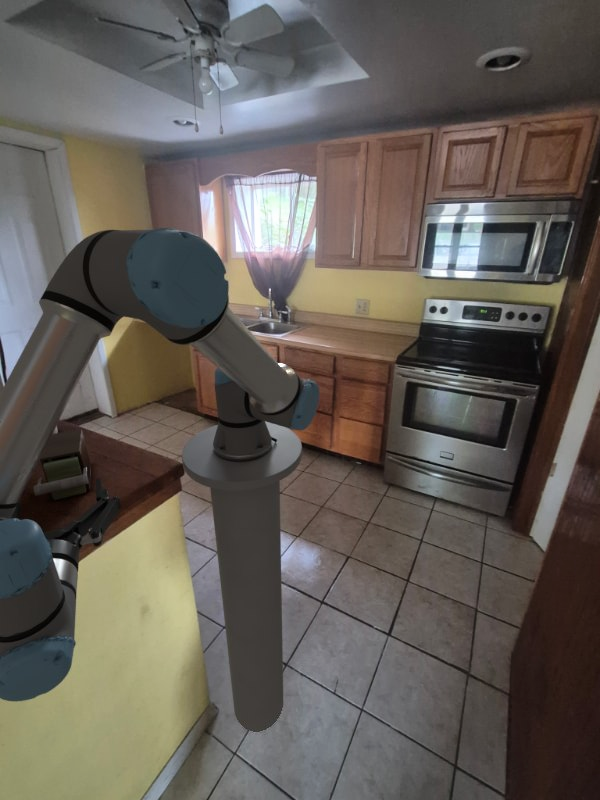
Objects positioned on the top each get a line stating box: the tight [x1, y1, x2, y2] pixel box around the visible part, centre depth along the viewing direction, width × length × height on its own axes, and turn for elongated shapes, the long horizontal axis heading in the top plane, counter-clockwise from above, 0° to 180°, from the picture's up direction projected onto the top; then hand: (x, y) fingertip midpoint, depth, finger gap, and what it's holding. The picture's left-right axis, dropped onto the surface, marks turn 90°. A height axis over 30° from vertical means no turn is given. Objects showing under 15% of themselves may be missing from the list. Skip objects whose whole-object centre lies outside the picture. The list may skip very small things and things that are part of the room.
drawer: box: [33, 454, 89, 501], centre depth 80 cm, size 16×9×9 cm, turn 27°
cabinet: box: [39, 428, 92, 500], centre depth 84 cm, size 11×7×10 cm, turn 27°
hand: (59, 493), depth 71 cm, fingers open, 13 cm apart
